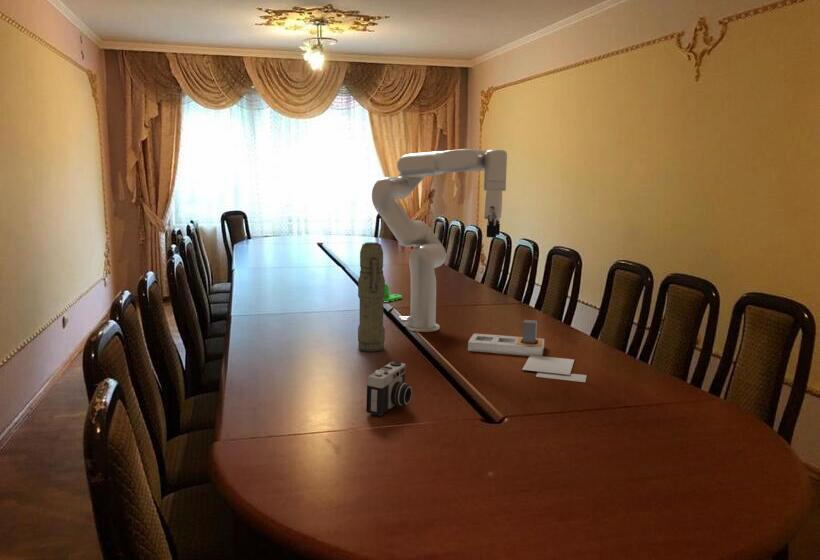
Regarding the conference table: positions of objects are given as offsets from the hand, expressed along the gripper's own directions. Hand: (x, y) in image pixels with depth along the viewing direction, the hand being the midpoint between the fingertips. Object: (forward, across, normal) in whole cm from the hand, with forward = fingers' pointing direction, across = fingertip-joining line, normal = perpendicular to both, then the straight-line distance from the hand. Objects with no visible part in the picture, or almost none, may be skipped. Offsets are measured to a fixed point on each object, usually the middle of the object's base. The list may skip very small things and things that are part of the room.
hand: (493, 236), depth 224 cm
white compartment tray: (+36, +14, +8) cm, 40 cm away
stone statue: (+36, +26, -36) cm, 57 cm away
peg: (+36, +14, +15) cm, 42 cm away
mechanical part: (+37, -53, -52) cm, 83 cm away
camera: (+37, +76, -14) cm, 86 cm away
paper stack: (+37, +33, +26) cm, 56 cm away
